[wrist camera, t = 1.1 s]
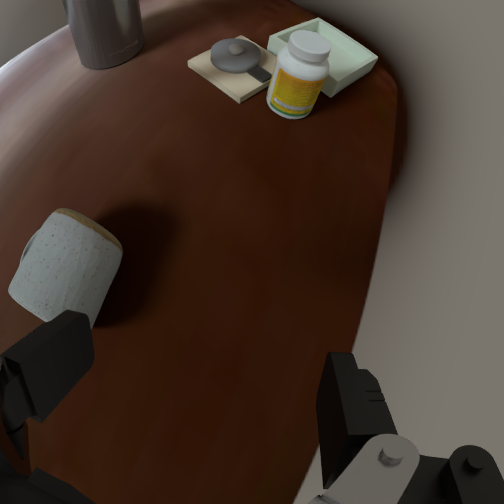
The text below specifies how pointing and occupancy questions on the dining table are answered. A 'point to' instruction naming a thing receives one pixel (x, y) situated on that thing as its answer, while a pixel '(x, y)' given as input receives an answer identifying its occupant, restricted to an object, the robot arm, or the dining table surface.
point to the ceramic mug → (66, 267)
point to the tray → (332, 54)
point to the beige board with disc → (236, 67)
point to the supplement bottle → (299, 74)
